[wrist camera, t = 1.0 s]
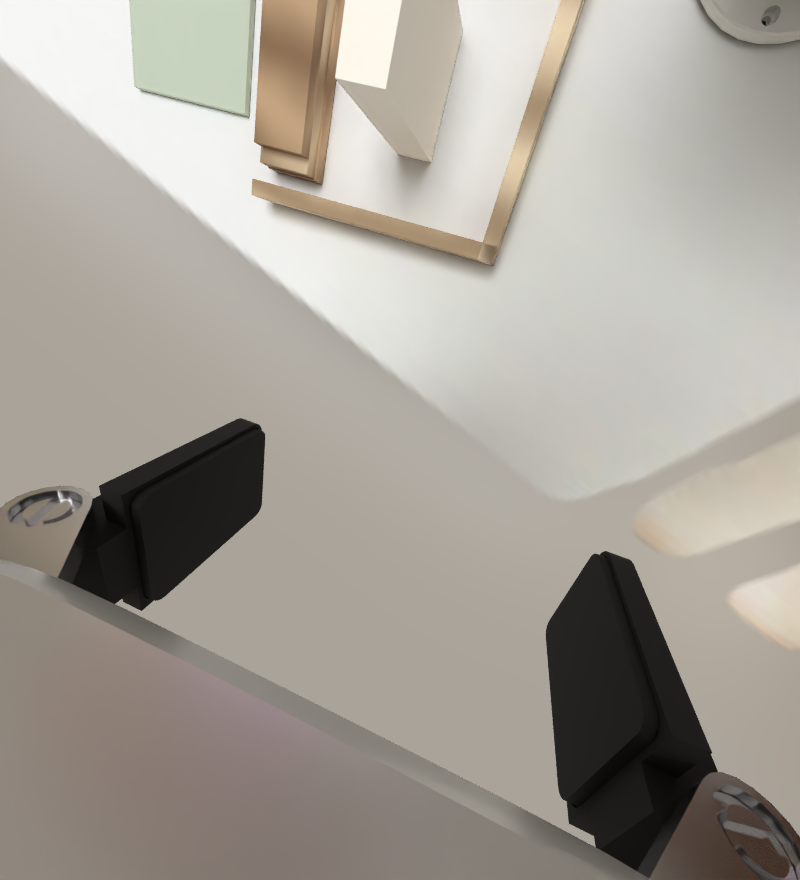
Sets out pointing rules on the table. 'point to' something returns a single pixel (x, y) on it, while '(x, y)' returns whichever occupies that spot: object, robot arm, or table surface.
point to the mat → (195, 50)
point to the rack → (510, 186)
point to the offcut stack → (297, 84)
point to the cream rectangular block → (400, 67)
